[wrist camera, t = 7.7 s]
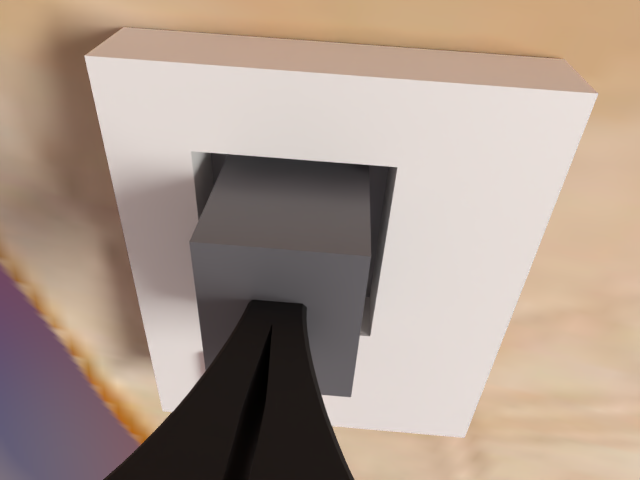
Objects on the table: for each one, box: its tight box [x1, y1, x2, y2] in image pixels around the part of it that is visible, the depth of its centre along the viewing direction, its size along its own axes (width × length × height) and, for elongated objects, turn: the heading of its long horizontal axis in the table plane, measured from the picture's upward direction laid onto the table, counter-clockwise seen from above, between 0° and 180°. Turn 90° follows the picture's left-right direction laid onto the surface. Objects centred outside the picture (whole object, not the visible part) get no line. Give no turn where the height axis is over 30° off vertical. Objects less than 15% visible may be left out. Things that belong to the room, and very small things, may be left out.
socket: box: [84, 27, 598, 438], centre depth 17 cm, size 14×12×3 cm
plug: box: [189, 154, 371, 397], centre depth 15 cm, size 5×4×5 cm
